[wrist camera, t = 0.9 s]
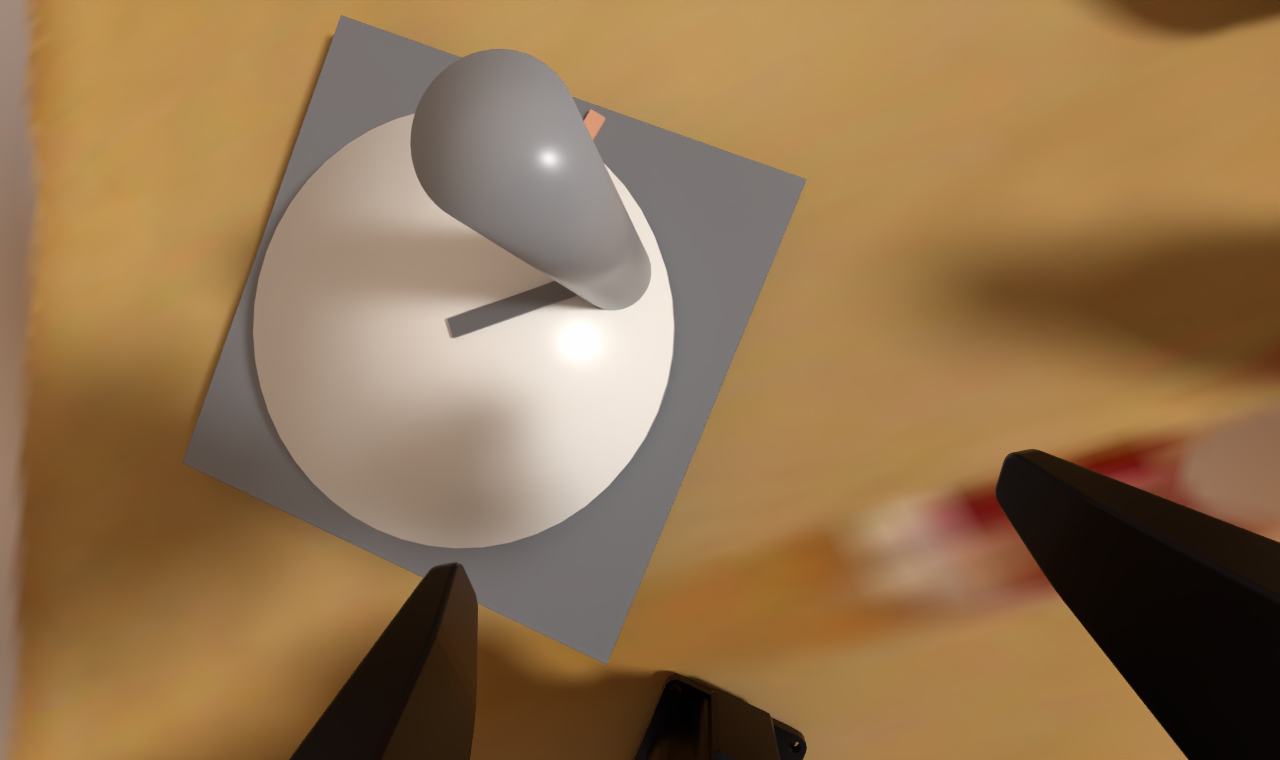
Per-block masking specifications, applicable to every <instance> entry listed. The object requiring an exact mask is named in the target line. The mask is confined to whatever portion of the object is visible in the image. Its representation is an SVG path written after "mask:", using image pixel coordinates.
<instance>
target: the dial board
mask: <svg viewBox="0 0 1280 760" xmlns="http://www.w3.org/2000/svg"><path fill="white" fill-rule="evenodd" d="M459 59H461V57H458V56H455V55H452V54H450V53H447V52H444V51H441V50H438V49H435V48H433V47H430V46H427V45H424V44H421V43H418V42H416V41H413V40H410V39H407V38H404V37H401V36H399V35H396V34H393V33H390V32H387V31H384V30H382V29H379V28H376V27H373V26H370V25H367V24H365V23H362V22H359V21H356V20H353V19H350V18H348V17H345V16H342V15H341V17H340V20H339V23H338V25H337V28H336V31H335V34H334V37H333V39H332V42H331V45H330V48H329V51H328V54H327V56H326V59H325V62H324V65H323V68H322V71H321V73H320V76H319V79H318V82H317V85H316V87H315V90H314V93H313V96H312V99H311V102H310V104H309V107H308V110H307V113H306V116H305V119H304V121H303V124H302V127H301V130H300V133H299V135H298V138H297V141H296V144H295V147H294V150H293V152H292V155H291V158H290V161H289V164H288V167H287V169H286V172H285V175H284V178H283V181H282V183H281V186H280V189H279V192H278V195H277V198H276V200H275V203H274V206H273V209H272V212H271V215H270V217H269V220H268V223H267V226H266V229H265V231H264V234H263V237H262V240H261V243H260V246H259V248H258V251H257V254H256V257H255V260H254V263H253V265H252V268H251V271H250V274H249V277H248V279H247V282H246V285H245V288H244V291H243V294H242V296H241V299H240V302H239V305H238V308H237V311H236V313H235V316H234V319H233V322H232V325H231V327H230V330H229V333H228V336H227V339H226V342H225V344H224V347H223V350H222V353H221V356H220V359H219V361H218V364H217V367H216V370H215V373H214V375H213V378H212V381H211V384H210V387H209V390H208V392H207V395H206V398H205V401H204V404H203V407H202V409H201V412H200V415H199V418H198V421H197V423H196V426H195V429H194V432H193V435H192V438H191V440H190V443H189V446H188V449H187V452H186V455H185V457H184V460H183V464H185V465H187V466H190V467H192V468H194V469H196V470H198V471H200V472H202V473H204V474H206V475H208V476H211V477H213V478H215V479H217V480H219V481H221V482H223V483H225V484H227V485H230V486H232V487H234V488H236V489H238V490H240V491H242V492H244V493H246V494H248V495H251V496H253V497H255V498H257V499H259V500H261V501H263V502H265V503H267V504H270V505H272V506H274V507H276V508H278V509H280V510H282V511H284V512H286V513H288V514H291V515H293V516H295V517H297V518H299V519H301V520H303V521H305V522H307V523H310V524H312V525H314V526H316V527H318V528H320V529H322V530H324V531H326V532H328V533H331V534H333V535H335V536H337V537H339V538H341V539H343V540H345V541H347V542H350V543H352V544H354V545H356V546H358V547H360V548H362V549H364V550H366V551H368V552H371V553H373V554H375V555H377V556H379V557H381V558H383V559H385V560H387V561H390V562H392V563H394V564H396V565H398V566H400V567H402V568H404V569H406V570H409V571H411V572H413V573H415V574H417V575H419V576H421V577H423V578H424V577H425V575H426V574H427V573H428V571H429V570H430V569H431V568H432V567H433V566H435V565H439V564H444V563H449V562H454V561H458V562H460V563H461V564H462V565H463V567H464V569H465V571H466V573H467V575H468V578H469V580H470V582H471V584H472V586H473V589H474V591H475V593H476V597H477V603H478V604H480V605H482V606H484V607H486V608H489V609H491V610H493V611H495V612H497V613H499V614H501V615H503V616H505V617H507V618H510V619H512V620H514V621H516V622H518V623H520V624H522V625H524V626H526V627H529V628H531V629H533V630H535V631H537V632H539V633H541V634H543V635H545V636H547V637H550V638H552V639H554V640H556V641H558V642H560V643H562V644H564V645H566V646H569V647H571V648H573V649H575V650H577V651H579V652H581V653H583V654H585V655H587V656H590V657H592V658H594V659H596V660H598V661H600V662H602V663H604V664H606V665H607V663H608V660H609V658H610V656H611V653H612V651H613V648H614V646H615V643H616V641H617V639H618V636H619V634H620V631H621V629H622V626H623V624H624V622H625V619H626V617H627V614H628V612H629V609H630V607H631V605H632V602H633V600H634V597H635V595H636V592H637V590H638V588H639V585H640V583H641V580H642V578H643V575H644V573H645V571H646V568H647V566H648V563H649V561H650V558H651V556H652V554H653V551H654V549H655V546H656V544H657V541H658V539H659V537H660V534H661V532H662V529H663V527H664V524H665V522H666V520H667V517H668V515H669V512H670V510H671V507H672V505H673V503H674V500H675V498H676V495H677V493H678V490H679V488H680V486H681V483H682V481H683V478H684V476H685V473H686V471H687V469H688V466H689V464H690V461H691V459H692V456H693V454H694V452H695V449H696V447H697V444H698V442H699V439H700V437H701V435H702V432H703V430H704V427H705V425H706V422H707V420H708V418H709V415H710V413H711V410H712V408H713V405H714V403H715V401H716V398H717V396H718V393H719V391H720V388H721V386H722V384H723V381H724V379H725V376H726V374H727V371H728V369H729V367H730V364H731V362H732V359H733V357H734V354H735V352H736V350H737V347H738V345H739V342H740V340H741V337H742V335H743V333H744V330H745V328H746V325H747V323H748V320H749V318H750V316H751V313H752V311H753V308H754V306H755V303H756V301H757V299H758V296H759V294H760V291H761V289H762V286H763V284H764V282H765V279H766V277H767V274H768V272H769V269H770V267H771V265H772V262H773V260H774V257H775V255H776V252H777V250H778V248H779V245H780V243H781V240H782V238H783V235H784V233H785V231H786V228H787V226H788V223H789V221H790V218H791V216H792V214H793V211H794V209H795V206H796V204H797V201H798V199H799V197H800V194H801V192H802V189H803V187H804V184H805V182H806V180H807V179H804V178H801V177H798V176H795V175H793V174H790V173H787V172H784V171H781V170H778V169H776V168H773V167H770V166H767V165H764V164H761V163H759V162H756V161H753V160H750V159H747V158H744V157H742V156H739V155H736V154H733V153H730V152H727V151H725V150H722V149H719V148H716V147H713V146H710V145H708V144H705V143H702V142H699V141H696V140H693V139H691V138H688V137H685V136H682V135H679V134H676V133H674V132H671V131H668V130H665V129H662V128H659V127H657V126H654V125H651V124H648V123H645V122H642V121H640V120H637V119H634V118H631V117H628V116H625V115H623V114H620V113H617V112H614V111H611V110H608V109H606V108H603V107H600V106H597V105H594V104H591V103H588V102H586V101H583V100H580V99H577V98H574V97H572V98H573V100H574V102H575V104H576V106H577V108H578V110H579V112H580V114H581V117H582V119H583V121H584V123H585V125H586V127H587V129H588V131H589V133H590V135H591V137H592V140H593V142H594V144H595V146H596V148H597V150H598V152H599V154H600V156H601V158H602V160H603V163H604V164H605V165H606V166H607V167H608V168H609V169H610V170H611V171H612V172H613V173H614V175H615V176H616V177H617V178H618V179H619V180H620V181H621V182H622V183H623V184H624V186H625V187H626V188H627V190H628V191H629V193H630V194H631V196H632V197H633V199H634V200H635V201H636V203H637V204H638V206H639V207H640V209H641V210H642V212H643V214H644V216H645V218H646V220H647V222H648V224H649V226H650V228H651V230H652V232H653V234H654V236H655V239H656V241H657V244H658V247H659V250H660V253H661V255H662V258H663V261H664V264H665V267H666V270H667V273H668V278H669V283H670V287H671V292H672V297H673V306H674V320H675V338H674V355H673V361H672V366H671V372H670V377H669V382H668V386H667V389H666V392H665V395H664V398H663V401H662V404H661V407H660V410H659V412H658V414H657V416H656V419H655V421H654V423H653V425H652V427H651V429H650V431H649V433H648V435H647V437H646V438H645V440H644V441H643V443H642V444H641V446H640V447H639V449H638V450H637V452H636V453H635V455H634V456H633V458H632V459H631V461H630V462H629V463H628V464H627V465H626V466H625V467H624V469H623V470H622V471H621V472H620V473H619V474H618V476H617V477H616V478H615V479H614V480H613V481H612V482H611V484H610V485H609V486H608V487H607V488H606V489H605V490H604V491H602V492H601V493H600V494H599V495H598V496H597V497H596V498H594V499H593V500H592V501H591V502H590V503H589V504H588V505H586V506H585V507H584V508H582V509H581V510H579V511H578V512H576V513H575V514H573V515H572V516H570V517H569V518H567V519H565V520H564V521H562V522H561V523H559V524H556V525H554V526H552V527H550V528H548V529H546V530H544V531H542V532H540V533H538V534H535V535H532V536H529V537H526V538H523V539H520V540H517V541H514V542H510V543H505V544H500V545H494V546H488V547H482V548H446V547H436V546H427V545H423V544H419V543H415V542H411V541H406V540H402V539H400V538H397V537H394V536H392V535H389V534H387V533H384V532H382V531H379V530H376V529H375V528H373V527H371V526H369V525H367V524H366V523H364V522H362V521H360V520H358V519H357V518H355V517H353V516H352V515H350V514H349V513H348V512H346V511H345V510H343V509H342V508H341V507H339V506H338V505H337V504H335V503H334V502H333V501H331V500H330V499H329V498H328V497H327V496H326V495H325V494H324V493H323V492H322V491H321V490H320V489H319V488H318V487H317V486H316V485H315V484H313V483H312V482H311V480H310V479H309V478H308V477H307V475H306V474H305V473H304V472H303V470H302V469H301V468H300V467H299V466H298V464H297V463H296V462H295V461H294V459H293V457H292V456H291V454H290V453H289V451H288V449H287V448H286V446H285V444H284V443H283V441H282V440H281V438H280V436H279V434H278V432H277V430H276V427H275V425H274V423H273V421H272V419H271V417H270V414H269V412H268V409H267V406H266V403H265V400H264V397H263V393H262V390H261V387H260V382H259V377H258V372H257V367H256V362H255V352H254V338H253V323H254V304H255V298H256V292H257V286H258V279H259V275H260V272H261V268H262V265H263V262H264V258H265V255H266V251H267V249H268V247H269V244H270V242H271V239H272V237H273V235H274V232H275V230H276V228H277V226H278V224H279V222H280V220H281V219H282V217H283V215H284V213H285V212H286V210H287V208H288V206H289V205H290V203H291V202H292V200H293V199H294V198H295V196H296V195H297V194H298V192H299V191H300V190H301V188H302V187H303V186H304V184H305V183H306V182H307V180H308V179H309V178H310V177H311V176H312V175H313V174H314V173H315V172H316V171H317V170H318V169H319V168H320V167H321V166H322V165H323V164H324V163H325V162H326V161H327V160H328V159H329V158H331V157H332V156H333V155H334V154H336V153H337V152H338V151H339V150H341V149H342V148H343V147H344V146H346V145H347V144H348V143H350V142H352V141H353V140H355V139H357V138H358V137H360V136H362V135H363V134H365V133H367V132H368V131H370V130H372V129H374V128H376V127H378V126H381V125H383V124H385V123H388V122H390V121H392V120H395V119H397V118H401V117H404V116H408V115H411V114H415V112H416V109H417V107H418V104H419V102H420V100H421V98H422V96H423V94H424V93H425V91H426V89H427V88H428V87H429V85H430V84H431V83H432V81H433V80H434V79H435V78H436V77H437V76H438V75H439V74H440V73H441V72H442V71H443V70H445V69H446V68H447V67H448V66H450V65H451V64H453V63H454V62H456V61H458V60H459Z"/></svg>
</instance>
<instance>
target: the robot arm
mask: <svg viewBox="0 0 1280 760" xmlns="http://www.w3.org/2000/svg"><path fill="white" fill-rule="evenodd" d="M995 494H996V498H997V501H998V503H999V505H1000V507H1001V508H1002V510H1003V511H1004V513H1005V514H1006V516H1007V518H1008V519H1009V521H1010V522H1011V524H1012V525H1013V527H1014V528H1015V530H1016V531H1017V533H1018V535H1019V536H1020V538H1021V539H1022V541H1023V542H1024V544H1025V545H1026V547H1027V549H1028V550H1029V552H1030V553H1031V555H1032V556H1033V558H1034V559H1035V561H1036V562H1037V564H1038V566H1039V567H1040V569H1041V570H1042V572H1043V573H1044V575H1045V576H1046V578H1047V579H1048V580H1049V582H1050V583H1051V585H1052V586H1053V588H1054V589H1055V590H1056V592H1057V593H1058V594H1059V596H1060V597H1061V598H1062V600H1063V601H1064V602H1065V603H1066V605H1067V606H1068V607H1069V609H1070V610H1071V611H1072V612H1073V614H1074V615H1075V616H1076V617H1077V619H1078V620H1079V621H1080V623H1081V624H1082V625H1083V626H1084V628H1085V629H1086V630H1087V631H1088V633H1089V634H1090V635H1091V637H1092V638H1093V639H1094V640H1095V642H1096V643H1097V644H1098V645H1099V647H1100V648H1101V649H1102V651H1103V652H1104V653H1105V654H1106V656H1107V657H1108V658H1109V659H1110V661H1111V662H1112V663H1113V665H1114V666H1115V667H1116V668H1117V670H1118V671H1119V672H1120V673H1121V675H1122V676H1123V677H1124V679H1125V680H1126V681H1127V682H1128V684H1129V685H1130V686H1131V687H1132V689H1133V690H1134V691H1135V692H1136V694H1137V695H1138V696H1139V698H1140V699H1141V700H1142V701H1143V703H1144V704H1145V705H1146V706H1147V708H1148V709H1149V710H1150V712H1151V713H1152V714H1153V715H1154V717H1155V718H1156V719H1157V720H1158V722H1159V723H1160V724H1161V726H1162V727H1163V728H1164V729H1165V731H1166V732H1167V733H1168V734H1169V736H1170V737H1171V738H1172V740H1173V741H1174V742H1175V743H1176V745H1177V746H1178V747H1179V748H1180V750H1181V751H1182V752H1183V754H1184V755H1185V756H1186V757H1187V759H1188V760H1280V542H1277V541H1274V540H1272V539H1269V538H1266V537H1264V536H1261V535H1259V534H1256V533H1253V532H1251V531H1248V530H1246V529H1243V528H1240V527H1238V526H1235V525H1233V524H1230V523H1227V522H1225V521H1222V520H1220V519H1217V518H1214V517H1212V516H1209V515H1207V514H1204V513H1201V512H1199V511H1196V510H1194V509H1191V508H1188V507H1186V506H1183V505H1181V504H1178V503H1175V502H1173V501H1170V500H1168V499H1165V498H1162V497H1160V496H1157V495H1154V494H1152V493H1149V492H1147V491H1144V490H1141V489H1139V488H1136V487H1134V486H1131V485H1128V484H1126V483H1123V482H1121V481H1118V480H1115V479H1113V478H1110V477H1108V476H1105V475H1102V474H1100V473H1097V472H1095V471H1092V470H1089V469H1087V468H1084V467H1082V466H1079V465H1076V464H1074V463H1071V462H1069V461H1066V460H1063V459H1061V458H1058V457H1056V456H1053V455H1050V454H1048V453H1045V452H1042V451H1040V450H1036V449H1028V450H1023V451H1018V452H1013V453H1010V454H1008V455H1007V456H1006V458H1005V460H1004V462H1003V466H1002V469H1001V472H1000V475H999V478H998V482H997V485H996V489H995ZM477 629H478V603H477V597H476V593H475V591H474V589H473V586H472V584H471V582H470V580H469V578H468V575H467V573H466V571H465V569H464V567H463V565H462V564H461V563H460V562H458V561H454V562H449V563H444V564H439V565H435V566H433V567H432V568H431V569H430V570H429V571H428V573H427V574H426V575H425V577H424V578H423V579H422V581H421V582H420V583H419V585H418V586H417V587H416V589H415V590H414V591H413V593H412V594H411V596H410V597H409V598H408V600H407V601H406V602H405V604H404V605H403V606H402V608H401V609H400V610H399V612H398V613H397V614H396V616H395V617H394V618H393V620H392V621H391V623H390V624H389V625H388V627H387V628H386V629H385V631H384V632H383V633H382V635H381V636H380V637H379V639H378V640H377V641H376V643H375V644H374V646H373V647H372V648H371V650H370V651H369V652H368V654H367V655H366V656H365V658H364V659H363V660H362V662H361V663H360V664H359V666H358V667H357V668H356V670H355V671H354V673H353V674H352V675H351V677H350V678H349V679H348V681H347V682H346V683H345V685H344V686H343V687H342V689H341V690H340V691H339V693H338V694H337V696H336V697H335V698H334V700H333V701H332V702H331V704H330V705H329V706H328V708H327V709H326V710H325V712H324V713H323V714H322V716H321V717H320V718H319V720H318V721H317V723H316V724H315V725H314V727H313V728H312V729H311V731H310V732H309V733H308V735H307V736H306V737H305V739H304V740H303V741H302V743H301V744H300V745H299V747H298V748H297V750H296V751H295V752H294V754H293V755H292V756H291V758H290V759H289V760H470V754H471V746H472V738H473V730H474V721H475V711H476V689H477ZM673 685H678V686H679V687H681V690H679V691H674V690H673V689H672V688H671V687H672V686H673ZM792 741H796V742H798V743H799V744H798V745H797V746H790V745H789V744H790V743H791V742H792ZM806 749H807V747H806V742H805V739H804V736H803V735H802V733H801V732H799V731H798V730H796V729H793V728H791V727H789V726H787V725H785V724H783V723H781V722H779V721H776V720H774V719H772V718H771V716H770V714H769V713H767V712H765V711H763V710H761V709H759V708H757V707H754V706H752V705H750V704H748V703H746V702H744V701H742V700H740V699H737V698H735V697H733V696H731V695H729V694H727V693H725V692H722V691H720V690H714V691H713V690H710V689H708V688H706V687H704V686H702V685H700V684H698V683H696V682H693V681H691V680H689V679H687V678H685V677H683V676H681V675H677V674H675V675H671V676H669V677H668V678H667V680H666V682H665V684H664V686H663V689H662V691H661V694H660V696H659V698H658V701H657V703H656V706H655V708H654V710H653V713H652V715H651V717H650V720H649V722H648V725H647V727H646V729H645V732H644V734H643V737H642V739H641V741H640V744H639V746H638V748H637V751H636V753H635V756H634V758H633V760H803V758H804V755H805V753H806Z"/></svg>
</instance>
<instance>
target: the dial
mask: <svg viewBox="0 0 1280 760" xmlns="http://www.w3.org/2000/svg"><path fill="white" fill-rule="evenodd" d="M253 338H254V352H255V362H256V367H257V372H258V377H259V382H260V387H261V390H262V393H263V397H264V400H265V403H266V406H267V409H268V412H269V414H270V417H271V419H272V421H273V423H274V425H275V427H276V430H277V432H278V434H279V436H280V438H281V440H282V441H283V443H284V444H285V446H286V448H287V449H288V451H289V453H290V454H291V456H292V457H293V459H294V461H295V462H296V463H297V464H298V466H299V467H300V468H301V469H302V470H303V472H304V473H305V474H306V475H307V477H308V478H309V479H310V480H311V482H312V483H313V484H315V485H316V486H317V487H318V488H319V489H320V490H321V491H322V492H323V493H324V494H325V495H326V496H327V497H328V498H329V499H330V500H331V501H333V502H334V503H335V504H337V505H338V506H339V507H341V508H342V509H343V510H345V511H346V512H348V513H349V514H350V515H352V516H353V517H355V518H357V519H358V520H360V521H362V522H364V523H366V524H367V525H369V526H371V527H373V528H375V529H376V530H379V531H382V532H384V533H387V534H389V535H392V536H394V537H397V538H400V539H402V540H406V541H411V542H415V543H419V544H423V545H427V546H436V547H446V548H482V547H488V546H494V545H500V544H505V543H510V542H514V541H517V540H520V539H523V538H526V537H529V536H532V535H535V534H538V533H540V532H542V531H544V530H546V529H548V528H550V527H552V526H554V525H556V524H559V523H561V522H562V521H564V520H565V519H567V518H569V517H570V516H572V515H573V514H575V513H576V512H578V511H579V510H581V509H582V508H584V507H585V506H586V505H588V504H589V503H590V502H591V501H592V500H593V499H594V498H596V497H597V496H598V495H599V494H600V493H601V492H602V491H604V490H605V489H606V488H607V487H608V486H609V485H610V484H611V482H612V481H613V480H614V479H615V478H616V477H617V476H618V474H619V473H620V472H621V471H622V470H623V469H624V467H625V466H626V465H627V464H628V463H629V462H630V461H631V459H632V458H633V456H634V455H635V453H636V452H637V450H638V449H639V447H640V446H641V444H642V443H643V441H644V440H645V438H646V437H647V435H648V433H649V431H650V429H651V427H652V425H653V423H654V421H655V419H656V416H657V414H658V412H659V410H660V407H661V404H662V401H663V398H664V395H665V392H666V389H667V386H668V382H669V377H670V372H671V366H672V361H673V355H674V338H675V320H674V306H673V297H672V292H671V287H670V283H669V278H668V273H667V270H666V267H665V264H664V261H663V258H662V255H661V253H660V250H659V247H658V244H657V241H656V239H655V236H654V234H653V232H652V230H651V228H650V226H649V224H648V222H647V220H646V218H645V216H644V214H643V212H642V210H641V209H640V207H639V206H638V204H637V203H636V201H635V200H634V199H633V197H632V196H631V194H630V193H629V191H628V190H627V188H626V187H625V186H624V184H623V183H622V182H621V181H620V180H619V179H618V178H617V177H616V176H615V175H614V173H613V172H612V171H611V170H610V169H609V168H608V167H607V166H606V165H605V164H604V163H603V160H602V158H601V156H600V154H599V152H598V150H597V148H596V146H595V144H594V142H593V140H592V137H591V135H590V133H589V131H588V129H587V127H586V125H585V123H584V121H583V119H582V117H581V114H580V112H579V110H578V108H577V106H576V104H575V102H574V100H573V98H572V96H571V94H570V92H569V90H568V88H567V87H566V85H565V84H564V82H563V81H562V79H561V78H560V77H559V76H558V75H557V74H556V73H555V72H554V71H553V70H552V69H551V68H550V67H549V66H547V65H546V64H545V63H543V62H542V61H540V60H538V59H537V58H535V57H532V56H530V55H528V54H525V53H522V52H518V51H514V50H506V49H492V50H485V51H480V52H477V53H473V54H470V55H468V56H466V57H463V58H461V59H459V60H458V61H456V62H454V63H453V64H451V65H450V66H448V67H447V68H446V69H445V70H443V71H442V72H441V73H440V74H439V75H438V76H437V77H436V78H435V79H434V80H433V81H432V83H431V84H430V85H429V87H428V88H427V89H426V91H425V93H424V94H423V96H422V98H421V100H420V102H419V104H418V107H417V109H416V112H415V114H411V115H408V116H404V117H401V118H397V119H395V120H392V121H390V122H388V123H385V124H383V125H381V126H378V127H376V128H374V129H372V130H370V131H368V132H367V133H365V134H363V135H362V136H360V137H358V138H357V139H355V140H353V141H352V142H350V143H348V144H347V145H346V146H344V147H343V148H342V149H341V150H339V151H338V152H337V153H336V154H334V155H333V156H332V157H331V158H329V159H328V160H327V161H326V162H325V163H324V164H323V165H322V166H321V167H320V168H319V169H318V170H317V171H316V172H315V173H314V174H313V175H312V176H311V177H310V178H309V179H308V180H307V182H306V183H305V184H304V186H303V187H302V188H301V190H300V191H299V192H298V194H297V195H296V196H295V198H294V199H293V200H292V202H291V203H290V205H289V206H288V208H287V210H286V212H285V213H284V215H283V217H282V219H281V220H280V222H279V224H278V226H277V228H276V230H275V232H274V235H273V237H272V239H271V242H270V244H269V247H268V249H267V251H266V255H265V258H264V262H263V265H262V268H261V272H260V275H259V279H258V286H257V292H256V298H255V304H254V323H253Z"/></svg>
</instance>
